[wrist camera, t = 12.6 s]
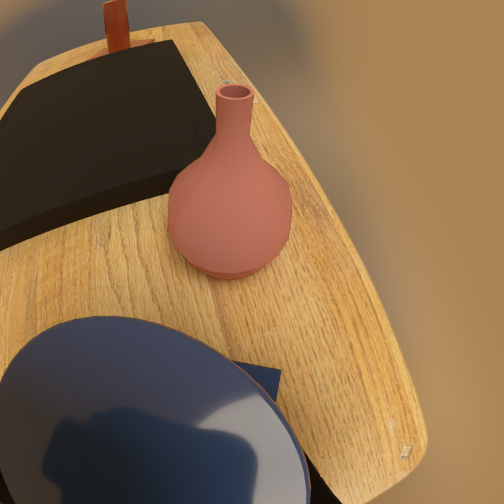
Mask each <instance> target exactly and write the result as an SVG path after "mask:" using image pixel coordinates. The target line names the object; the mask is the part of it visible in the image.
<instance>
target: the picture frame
mask: <svg viewBox="0 0 504 504" xmlns="http://www.w3.org/2000/svg"><path fill="white" fill-rule="evenodd" d="M215 134H216V118H215V116H214V114H213V113H212V111H211V109H210V107H209V105H208V103H207V101H206V99H205V98H204V96H203V94H202V92H201V90H200V88H199V87H198V85H197V83H196V81H195V79H194V77H193V76H192V74H191V72H190V70H189V68H188V67H187V65H186V63H185V61H184V59H183V58H182V56H181V54H180V52H179V51H178V49H177V47H176V45H175V43H174V42H173V40H166V41H160V42H155V43H150V44H145V45H141V46H136V47H132V48H128V49H124V50H120V51H117V52H113V53H110V54H106V55H103V56H100V57H97V58H94V59H91V60H88V61H85V62H82V63H80V64H77V65H74V66H72V67H69V68H67V69H64V70H62V71H59V72H57V73H55V74H52V75H50V76H48V77H46V78H43V79H41V80H39V81H37V82H35V83H33V84H31V85H29V86H27V87H25V88H23V89H22V90H21V91H20V92H19V93H18V95H17V96H16V97H15V99H14V100H13V102H12V103H11V105H10V106H9V108H8V109H7V111H6V112H5V114H4V115H3V117H2V118H1V120H0V251H1V250H3V249H5V248H8V247H10V246H12V245H15V244H17V243H19V242H22V241H24V240H27V239H29V238H32V237H34V236H37V235H39V234H42V233H44V232H47V231H50V230H52V229H55V228H58V227H60V226H63V225H66V224H68V223H71V222H74V221H77V220H80V219H83V218H86V217H89V216H92V215H95V214H98V213H101V212H104V211H107V210H110V209H113V208H117V207H120V206H123V205H127V204H130V203H133V202H137V201H140V200H144V199H147V198H151V197H154V196H158V195H162V194H166V193H169V189H170V187H171V186H172V184H173V182H174V180H175V178H176V177H177V175H178V174H179V173H180V172H181V171H183V170H184V169H185V168H186V167H187V166H188V165H190V164H191V163H192V162H194V161H195V160H197V159H198V158H200V157H201V156H202V154H203V153H204V151H205V150H206V148H207V146H208V145H209V143H210V142H211V140H212V139H213V137H214V136H215Z"/></svg>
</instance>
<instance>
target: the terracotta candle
mask: <svg viewBox="0 0 504 504" xmlns="http://www.w3.org/2000/svg"><path fill="white" fill-rule="evenodd" d="M102 6H103V16H104V25H105V32H106V39H107V46H108V52H109V53H113V52H117V51H120V50H124V49H128V48H129V47H131V43H130V34H129V24H128V12H127V0H112V1H109V2H105V3H103V4H102Z"/></svg>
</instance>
